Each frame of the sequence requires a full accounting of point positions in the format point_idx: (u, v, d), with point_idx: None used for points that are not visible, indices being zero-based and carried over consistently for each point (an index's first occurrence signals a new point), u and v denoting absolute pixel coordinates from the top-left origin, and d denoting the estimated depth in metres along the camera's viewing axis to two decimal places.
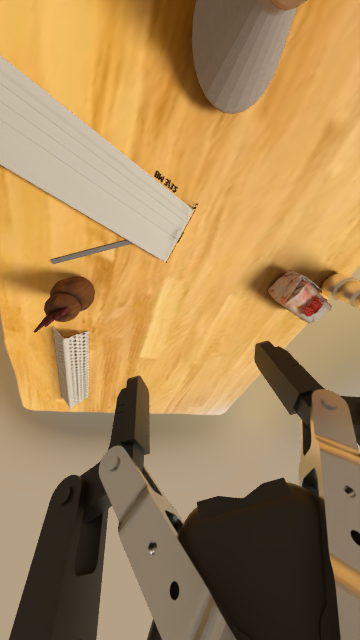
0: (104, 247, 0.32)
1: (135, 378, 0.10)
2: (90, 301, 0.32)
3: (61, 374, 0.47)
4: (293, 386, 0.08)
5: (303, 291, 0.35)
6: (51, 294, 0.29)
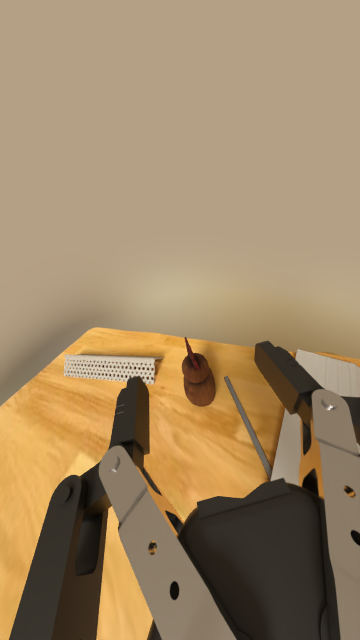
0: (251, 430, 0.27)
1: (135, 378, 0.10)
2: (194, 395, 0.28)
3: None
4: (293, 386, 0.08)
5: None
6: None
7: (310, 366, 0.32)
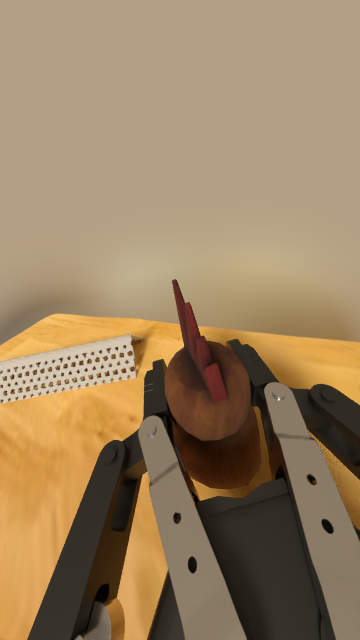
0: None
1: (160, 361, 0.11)
2: (202, 476, 0.09)
3: None
4: (251, 380, 0.09)
5: None
6: None
7: None
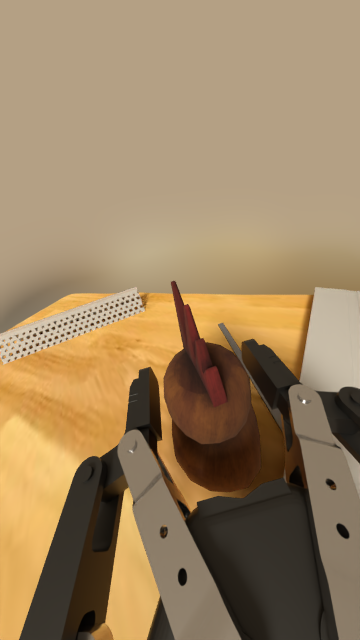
0: None
1: (146, 369, 0.11)
2: (202, 480, 0.09)
3: (73, 317, 0.38)
4: (272, 382, 0.08)
5: None
6: None
7: (336, 301, 0.23)
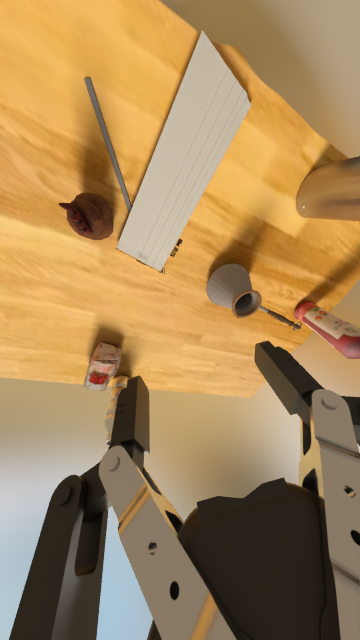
0: (119, 175, 0.29)
1: (135, 378, 0.10)
2: None
3: None
4: (293, 386, 0.08)
5: (108, 366, 0.44)
6: (95, 200, 0.26)
7: (200, 86, 0.24)
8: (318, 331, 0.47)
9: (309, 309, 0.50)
